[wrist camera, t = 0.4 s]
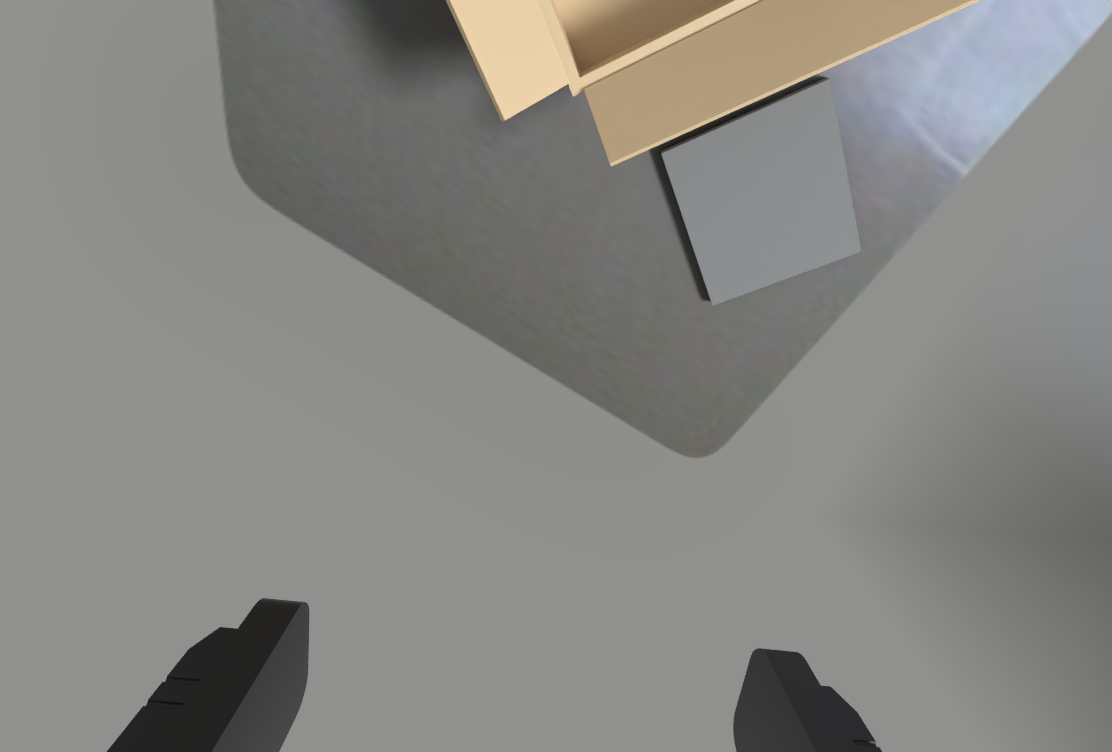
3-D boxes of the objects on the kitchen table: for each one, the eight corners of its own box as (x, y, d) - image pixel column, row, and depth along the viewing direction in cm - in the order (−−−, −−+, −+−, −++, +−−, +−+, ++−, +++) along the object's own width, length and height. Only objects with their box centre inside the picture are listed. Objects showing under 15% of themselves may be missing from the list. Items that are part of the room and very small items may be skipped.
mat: (660, 151, 32) (661, 153, 31) (825, 77, 30) (830, 78, 29) (710, 301, 37) (712, 305, 36) (857, 247, 34) (861, 251, 34)
